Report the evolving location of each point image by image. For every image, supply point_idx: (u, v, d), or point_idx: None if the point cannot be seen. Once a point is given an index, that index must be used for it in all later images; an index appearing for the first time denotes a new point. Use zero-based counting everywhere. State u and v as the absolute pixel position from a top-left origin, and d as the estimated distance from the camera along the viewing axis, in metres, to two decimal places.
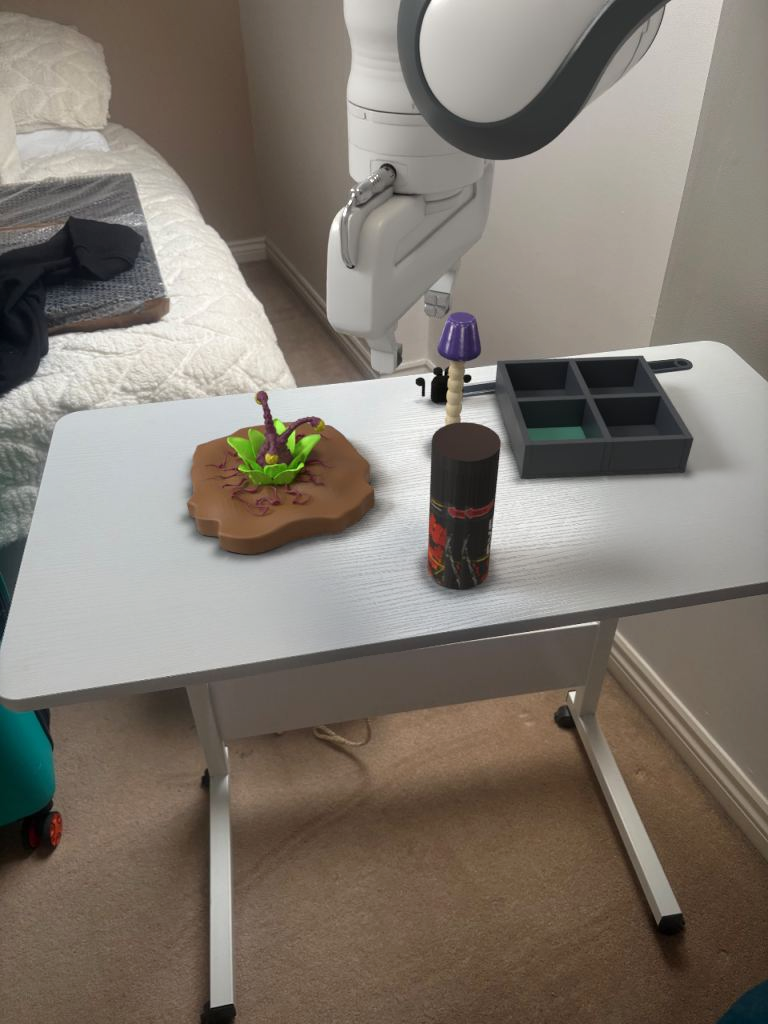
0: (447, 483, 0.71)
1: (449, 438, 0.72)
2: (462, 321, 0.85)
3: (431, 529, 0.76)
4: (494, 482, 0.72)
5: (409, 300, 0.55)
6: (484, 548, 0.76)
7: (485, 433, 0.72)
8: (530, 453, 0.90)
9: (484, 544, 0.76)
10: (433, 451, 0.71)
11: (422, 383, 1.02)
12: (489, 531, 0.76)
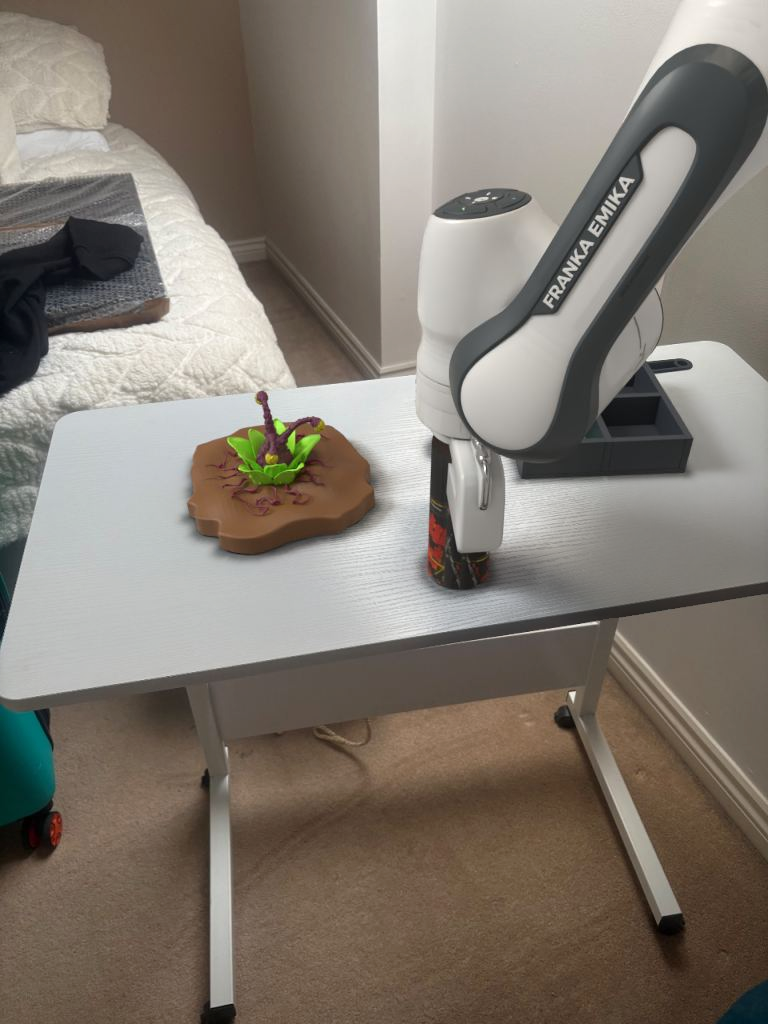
0: None
1: None
2: None
3: (431, 529, 0.76)
4: None
5: None
6: None
7: None
8: None
9: None
10: (433, 451, 0.71)
11: None
12: None
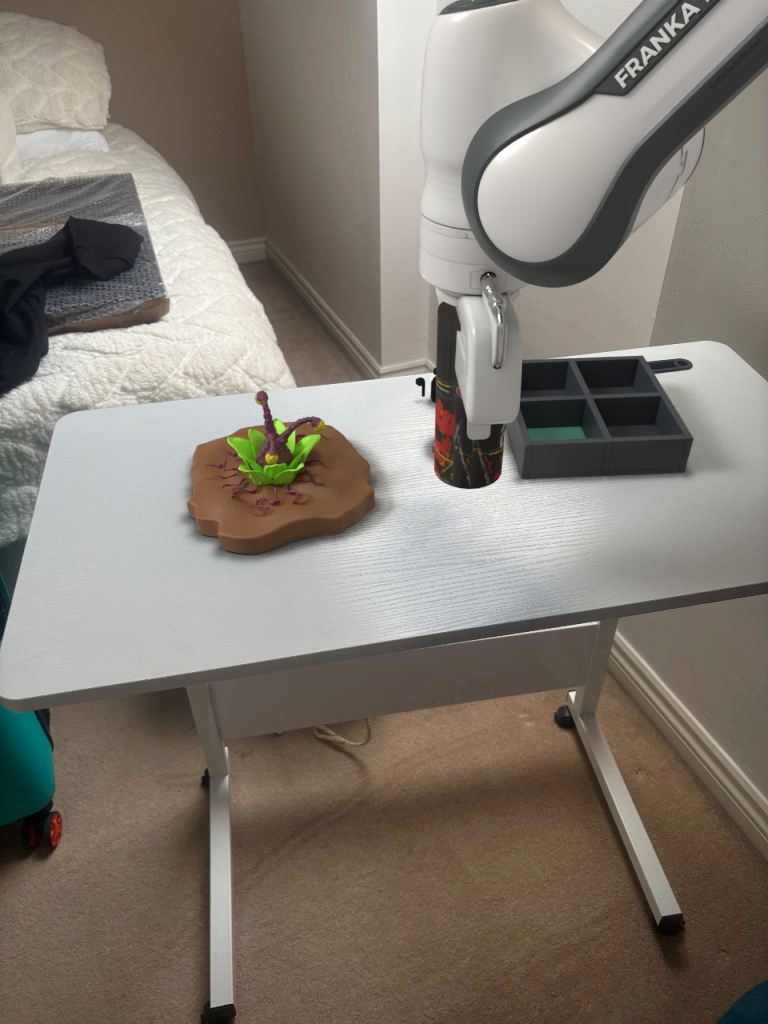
0: None
1: None
2: None
3: (438, 419, 0.69)
4: None
5: None
6: (497, 439, 0.68)
7: None
8: (530, 453, 0.90)
9: (497, 434, 0.68)
10: (439, 321, 0.63)
11: (422, 383, 1.02)
12: None
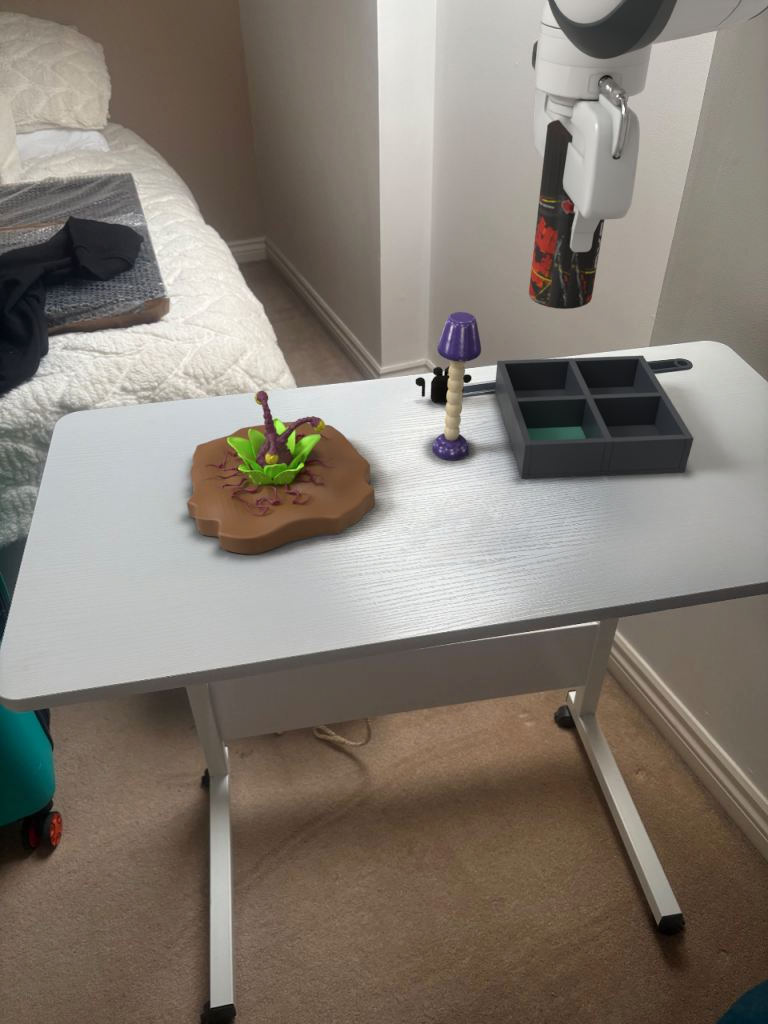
0: (564, 169, 0.69)
1: None
2: (462, 321, 0.85)
3: (539, 239, 0.75)
4: None
5: None
6: (593, 258, 0.75)
7: None
8: (530, 453, 0.90)
9: (594, 253, 0.74)
10: (549, 136, 0.69)
11: (422, 383, 1.02)
12: (599, 238, 0.74)
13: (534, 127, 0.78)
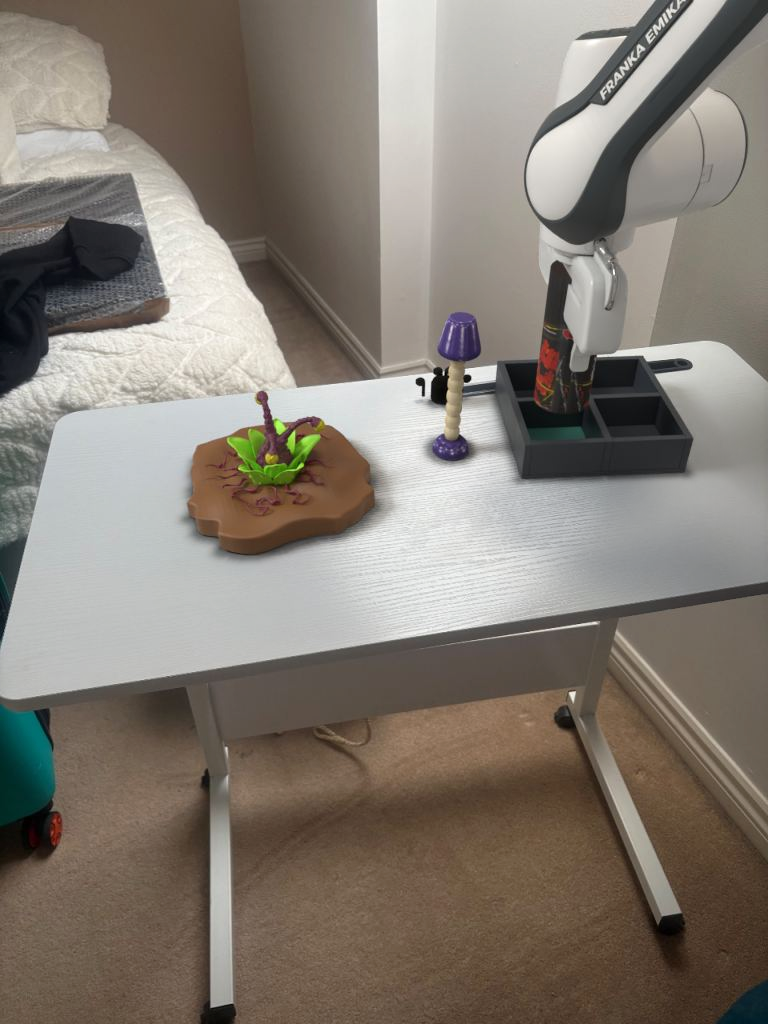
0: None
1: None
2: (462, 321, 0.85)
3: (543, 356, 0.87)
4: None
5: None
6: (589, 373, 0.87)
7: None
8: (530, 453, 0.90)
9: (590, 369, 0.86)
10: (552, 277, 0.81)
11: (422, 383, 1.02)
12: (595, 357, 0.86)
13: (539, 255, 0.90)
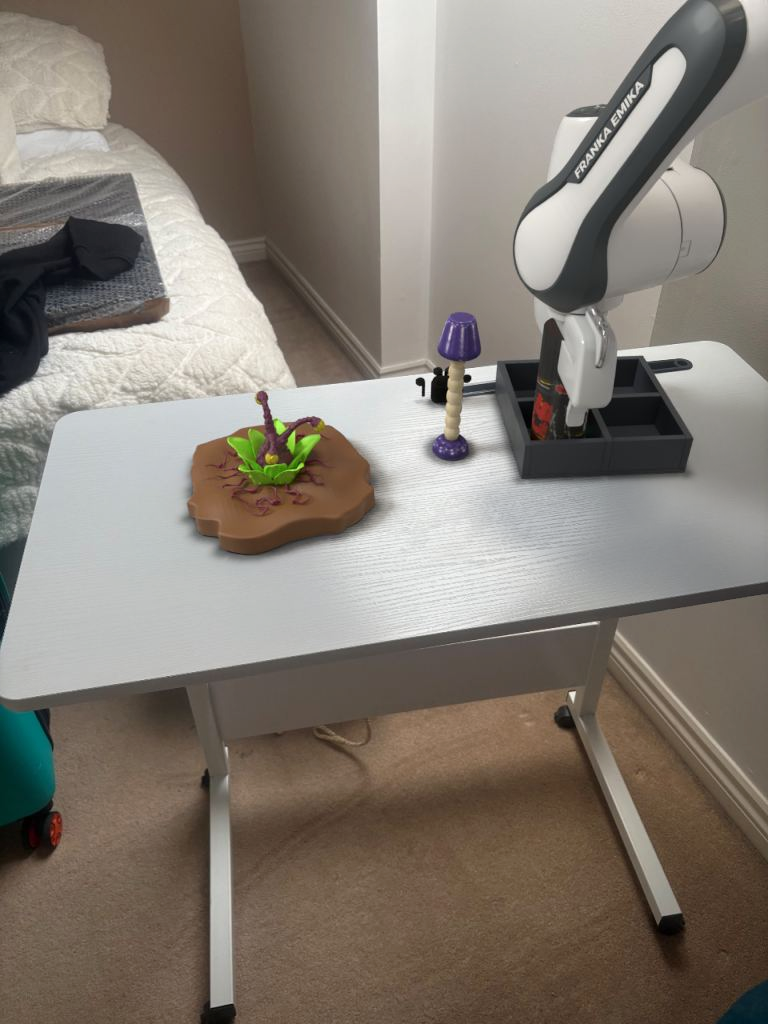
0: (557, 362, 0.85)
1: None
2: (462, 321, 0.85)
3: (537, 408, 0.91)
4: None
5: None
6: (582, 424, 0.91)
7: None
8: (530, 453, 0.90)
9: None
10: (545, 336, 0.85)
11: (422, 383, 1.02)
12: (587, 409, 0.90)
13: (534, 306, 0.94)
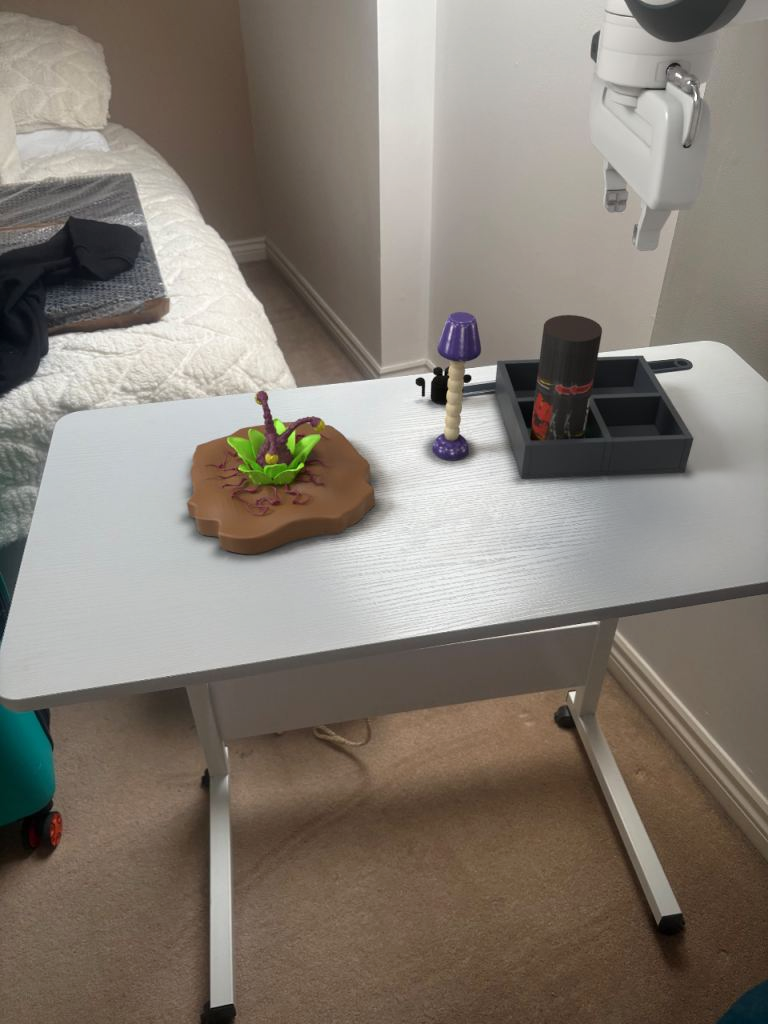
0: (557, 362, 0.85)
1: (558, 326, 0.86)
2: (462, 321, 0.85)
3: (537, 408, 0.91)
4: (595, 363, 0.86)
5: None
6: (582, 424, 0.91)
7: (587, 322, 0.86)
8: (530, 453, 0.90)
9: (582, 420, 0.90)
10: (545, 336, 0.85)
11: (422, 383, 1.02)
12: (587, 409, 0.90)
13: (590, 121, 0.77)
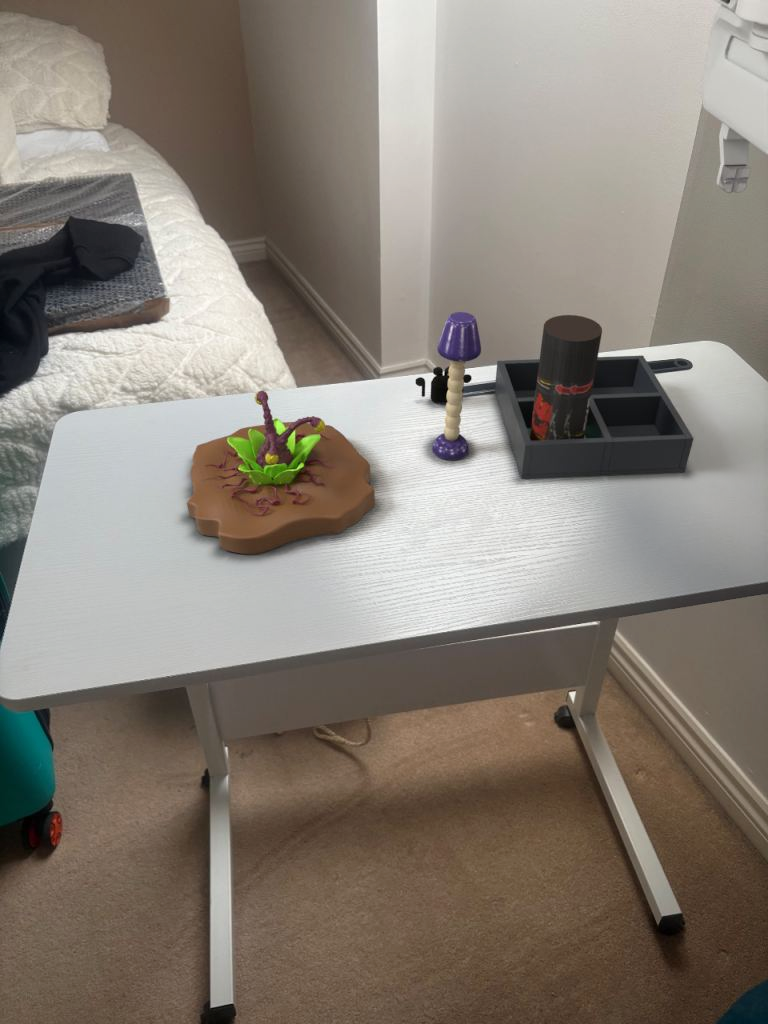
0: (557, 362, 0.85)
1: (558, 326, 0.86)
2: (462, 321, 0.85)
3: (537, 408, 0.91)
4: (595, 363, 0.86)
5: None
6: (582, 424, 0.91)
7: (587, 322, 0.86)
8: (530, 453, 0.90)
9: (582, 420, 0.90)
10: (545, 336, 0.85)
11: (422, 383, 1.02)
12: (587, 409, 0.90)
13: (704, 81, 0.63)
